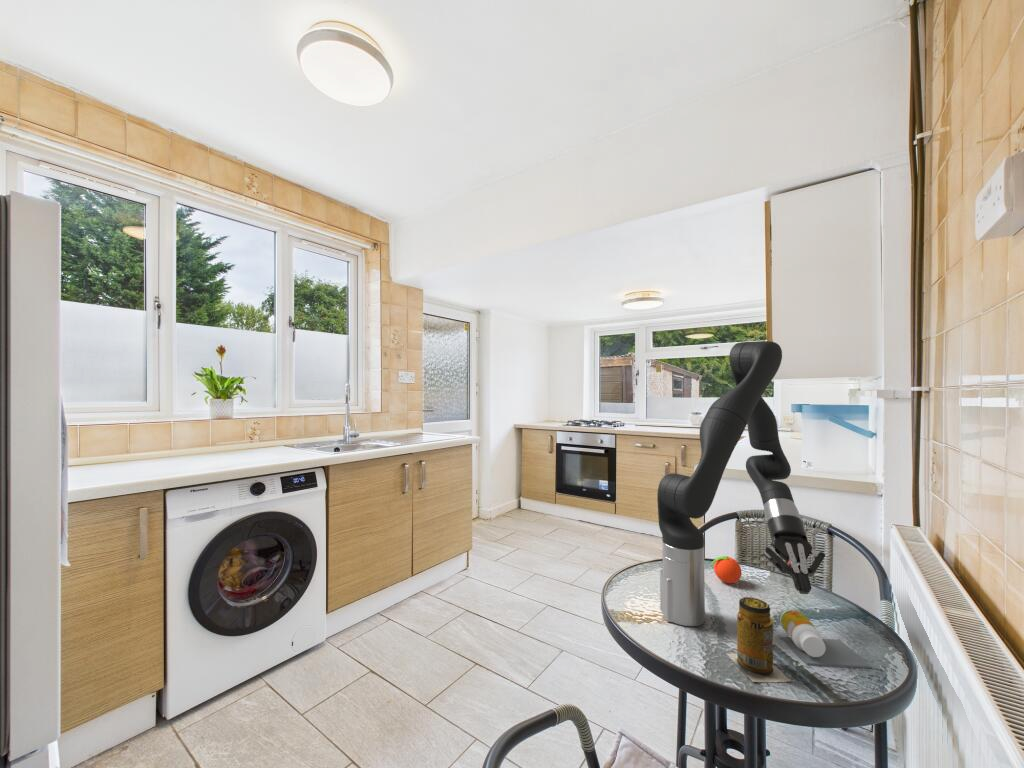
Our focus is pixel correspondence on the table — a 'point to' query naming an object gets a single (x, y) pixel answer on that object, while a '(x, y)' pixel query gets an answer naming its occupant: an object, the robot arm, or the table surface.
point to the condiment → (756, 642)
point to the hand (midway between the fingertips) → (805, 592)
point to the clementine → (727, 569)
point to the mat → (830, 655)
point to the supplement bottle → (803, 632)
